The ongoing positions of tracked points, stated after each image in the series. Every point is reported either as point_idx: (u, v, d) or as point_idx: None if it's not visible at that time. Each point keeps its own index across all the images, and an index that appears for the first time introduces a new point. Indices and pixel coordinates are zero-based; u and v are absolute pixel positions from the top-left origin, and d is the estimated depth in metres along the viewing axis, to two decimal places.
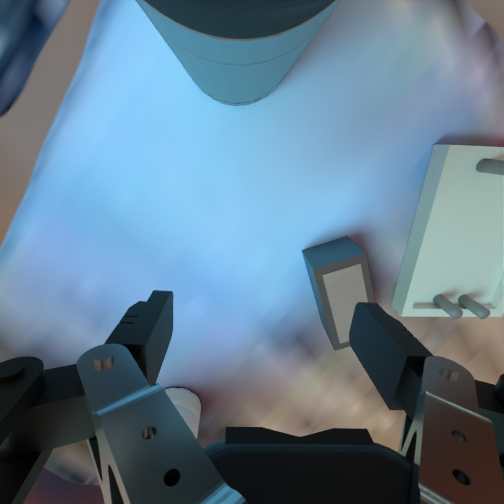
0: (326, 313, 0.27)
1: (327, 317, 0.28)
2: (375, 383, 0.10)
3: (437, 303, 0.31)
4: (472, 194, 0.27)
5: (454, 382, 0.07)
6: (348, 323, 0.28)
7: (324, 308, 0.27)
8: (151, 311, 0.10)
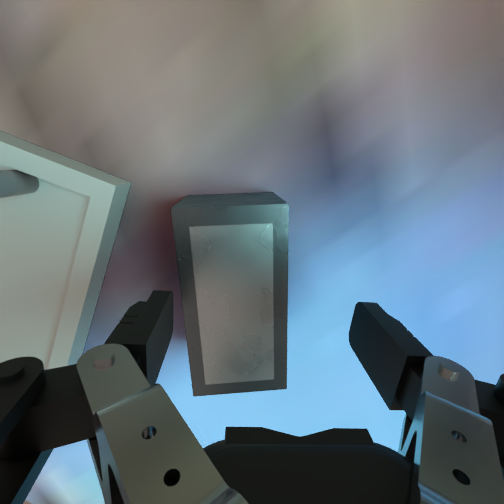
0: (284, 304, 0.13)
1: (284, 295, 0.13)
2: (375, 383, 0.10)
3: (28, 184, 0.14)
4: None
5: (454, 382, 0.07)
6: (244, 272, 0.13)
7: (285, 316, 0.14)
8: (151, 311, 0.10)
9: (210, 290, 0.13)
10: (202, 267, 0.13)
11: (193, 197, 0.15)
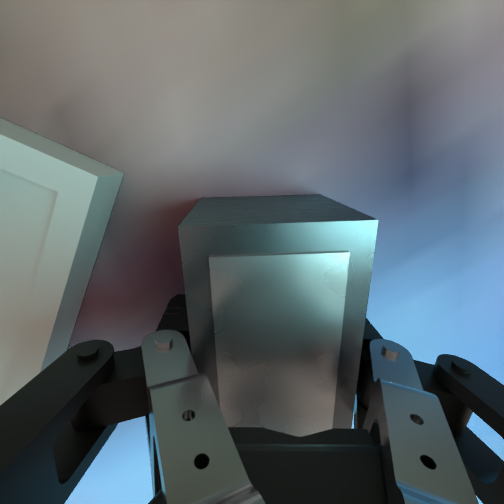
0: (352, 374, 0.09)
1: (354, 361, 0.08)
2: None
3: None
4: None
5: (392, 361, 0.08)
6: (296, 329, 0.08)
7: (352, 390, 0.09)
8: None
9: (239, 356, 0.08)
10: (227, 321, 0.08)
11: (210, 202, 0.10)
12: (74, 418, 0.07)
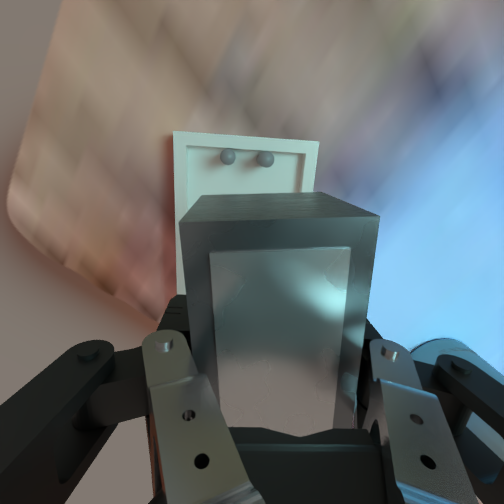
0: (353, 372, 0.09)
1: (355, 359, 0.08)
2: None
3: None
4: None
5: (392, 361, 0.08)
6: (297, 326, 0.08)
7: (353, 388, 0.09)
8: None
9: (240, 352, 0.08)
10: (228, 317, 0.08)
11: (210, 199, 0.10)
12: (74, 418, 0.07)
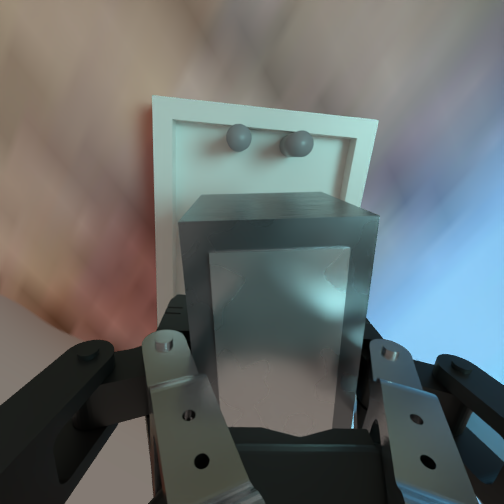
0: (353, 372, 0.09)
1: (355, 359, 0.08)
2: None
3: None
4: None
5: (392, 361, 0.08)
6: (297, 325, 0.08)
7: (353, 387, 0.09)
8: None
9: (239, 352, 0.08)
10: (227, 317, 0.08)
11: (210, 199, 0.10)
12: (74, 418, 0.07)
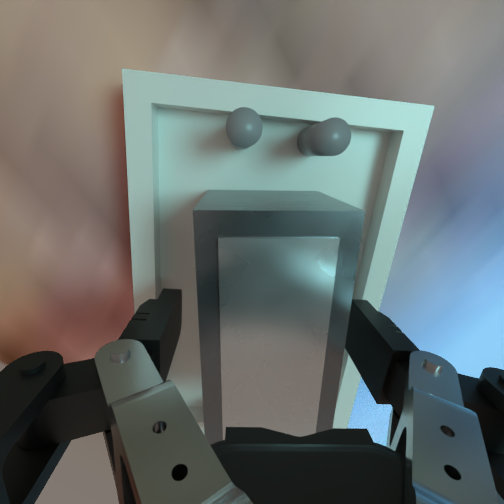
0: (339, 349, 0.10)
1: (341, 337, 0.10)
2: (364, 378, 0.10)
3: None
4: None
5: (437, 375, 0.08)
6: (291, 305, 0.09)
7: (339, 363, 0.10)
8: (162, 308, 0.10)
9: (240, 327, 0.09)
10: (231, 295, 0.09)
11: (217, 193, 0.11)
12: (21, 438, 0.07)
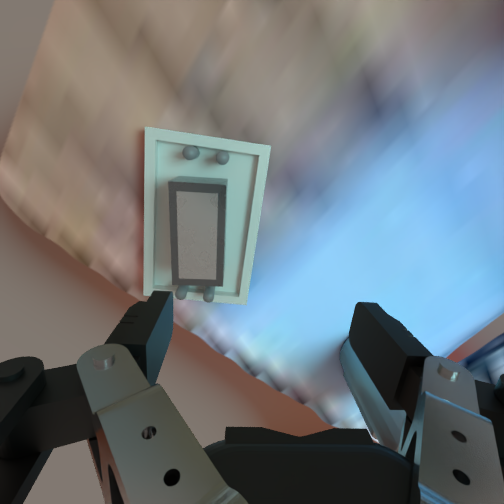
0: (222, 237, 0.26)
1: (223, 232, 0.26)
2: (375, 383, 0.10)
3: None
4: None
5: (454, 382, 0.07)
6: (202, 217, 0.25)
7: (223, 244, 0.26)
8: (151, 311, 0.10)
9: (184, 225, 0.25)
10: (181, 213, 0.25)
11: (181, 177, 0.27)
12: (0, 448, 0.06)
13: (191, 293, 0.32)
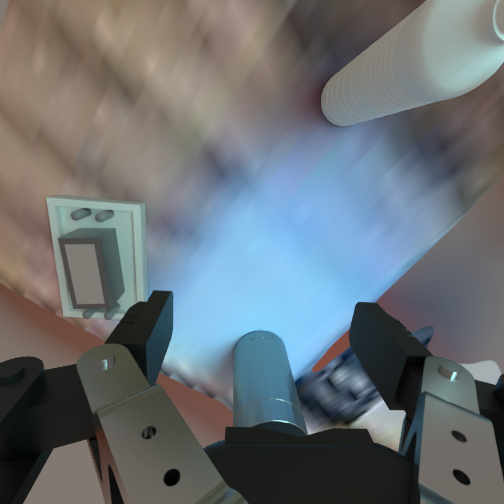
0: (104, 273, 0.36)
1: (103, 270, 0.36)
2: (375, 383, 0.10)
3: (111, 213, 0.38)
4: None
5: (454, 382, 0.07)
6: (86, 261, 0.35)
7: (105, 278, 0.36)
8: (151, 311, 0.10)
9: (74, 266, 0.36)
10: (71, 258, 0.35)
11: (77, 230, 0.38)
12: (0, 448, 0.06)
13: (100, 313, 0.42)
